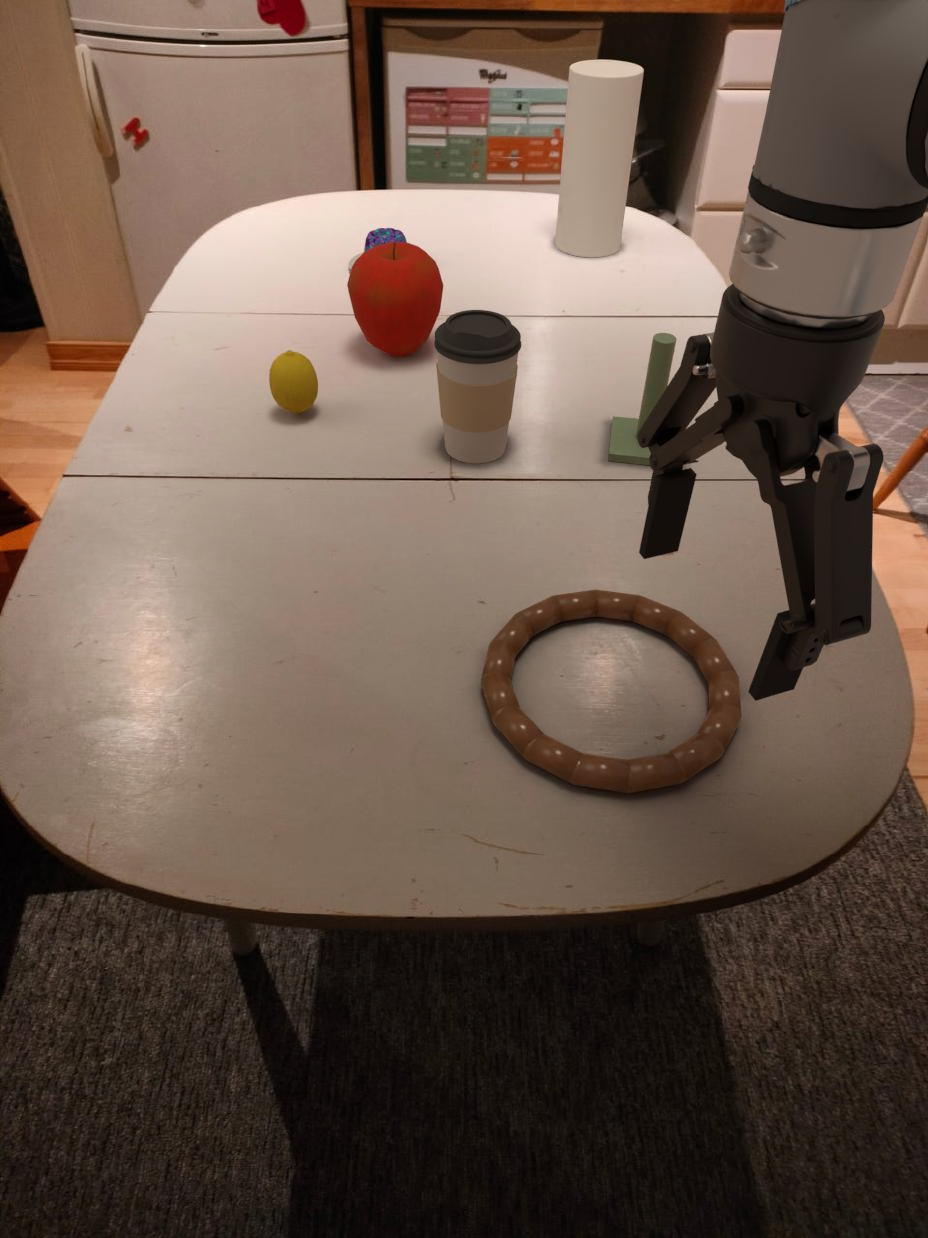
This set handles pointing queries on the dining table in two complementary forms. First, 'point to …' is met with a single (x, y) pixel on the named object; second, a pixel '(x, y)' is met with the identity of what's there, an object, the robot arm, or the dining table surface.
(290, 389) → the lemon
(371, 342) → the apple
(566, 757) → the ring
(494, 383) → the coffee cup
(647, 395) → the post
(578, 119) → the tall pillar cylinder
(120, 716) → the dining table surface
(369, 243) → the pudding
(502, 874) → the dining table surface
